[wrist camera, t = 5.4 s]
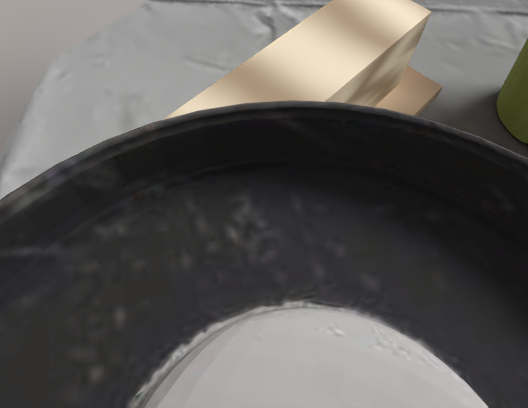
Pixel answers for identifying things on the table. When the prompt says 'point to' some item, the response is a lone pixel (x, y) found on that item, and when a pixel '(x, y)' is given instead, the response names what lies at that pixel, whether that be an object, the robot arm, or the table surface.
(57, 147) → the table surface
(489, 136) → the table surface
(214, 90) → the ridge
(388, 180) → the travel mug
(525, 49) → the plant pot
